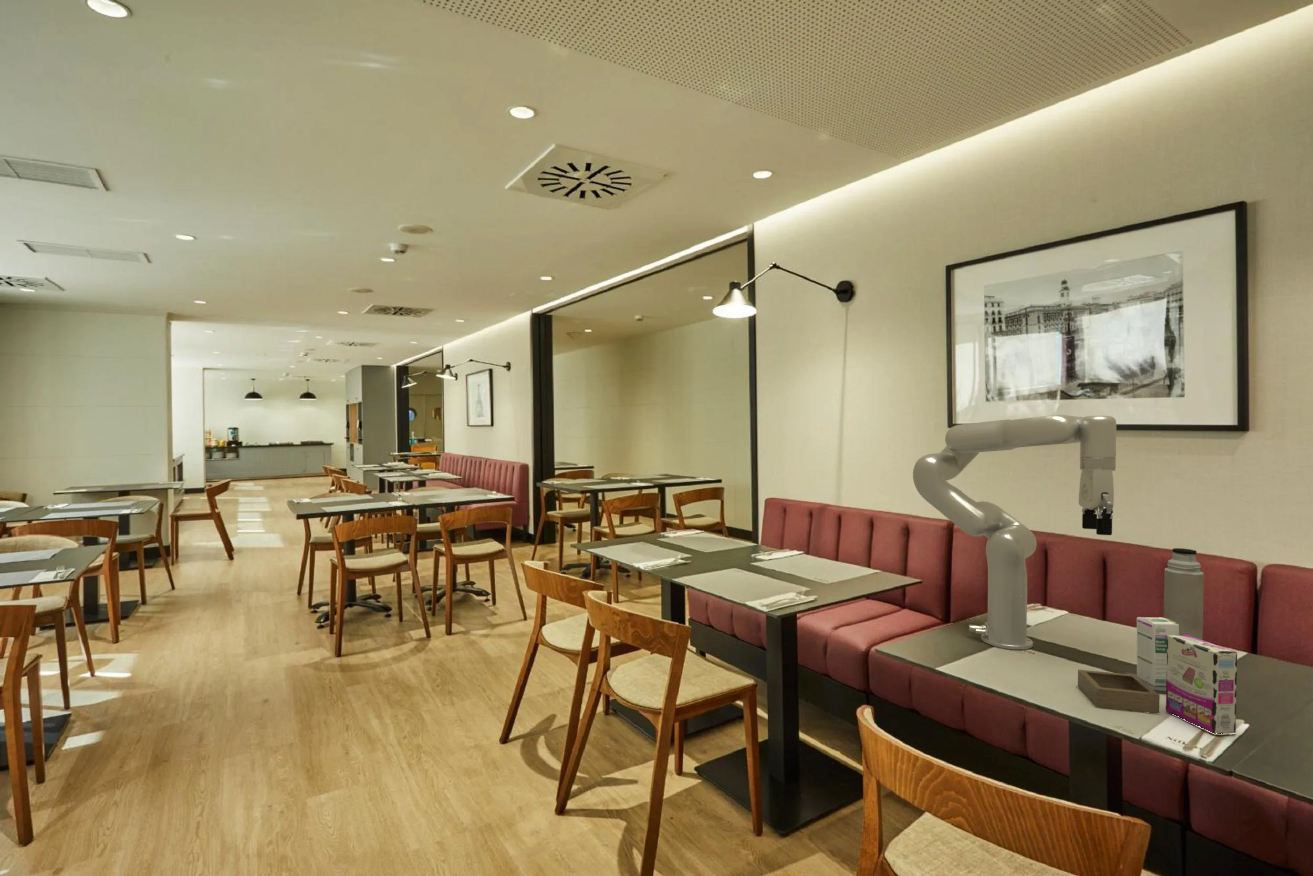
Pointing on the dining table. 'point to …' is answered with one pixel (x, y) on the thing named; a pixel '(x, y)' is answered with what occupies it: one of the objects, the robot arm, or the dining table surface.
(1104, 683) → the collar
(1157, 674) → the syrup box
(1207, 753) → the dining table surface
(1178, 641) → the candy bar box
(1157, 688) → the mat
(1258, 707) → the dining table surface
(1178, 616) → the thermos bottle
